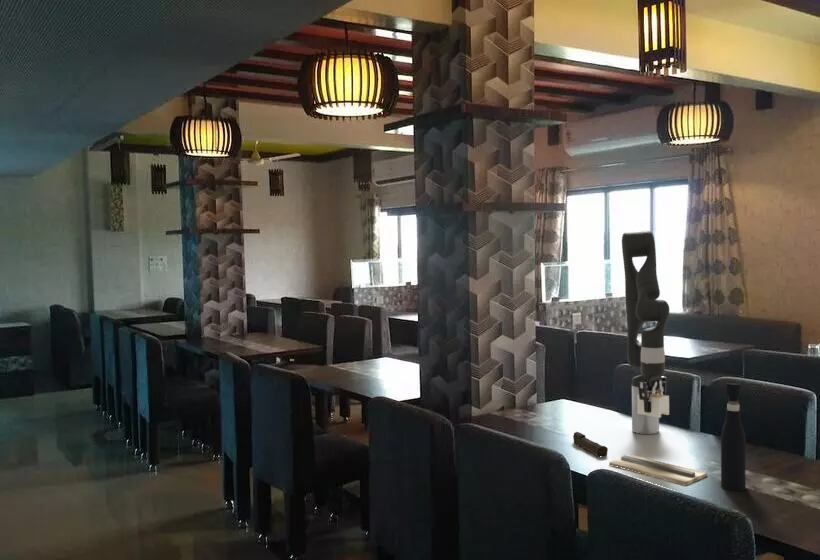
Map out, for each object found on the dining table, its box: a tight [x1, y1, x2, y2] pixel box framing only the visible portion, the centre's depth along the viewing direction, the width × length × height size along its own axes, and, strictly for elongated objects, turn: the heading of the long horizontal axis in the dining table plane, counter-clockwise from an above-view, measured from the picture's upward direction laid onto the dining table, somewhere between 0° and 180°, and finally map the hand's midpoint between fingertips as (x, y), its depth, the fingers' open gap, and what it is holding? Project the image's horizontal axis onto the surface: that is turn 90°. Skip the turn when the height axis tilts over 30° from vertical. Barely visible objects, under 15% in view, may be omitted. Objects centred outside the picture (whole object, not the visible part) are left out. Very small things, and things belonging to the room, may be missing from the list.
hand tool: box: [572, 431, 608, 458], centre depth 244 cm, size 19×4×5 cm, turn 14°
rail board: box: [608, 454, 708, 486], centre depth 220 cm, size 12×26×2 cm, turn 40°
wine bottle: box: [720, 381, 747, 492], centre depth 203 cm, size 6×6×30 cm
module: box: [637, 393, 670, 419], centre depth 236 cm, size 6×8×6 cm
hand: (653, 410), depth 236 cm, fingers closed on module, 6 cm apart
